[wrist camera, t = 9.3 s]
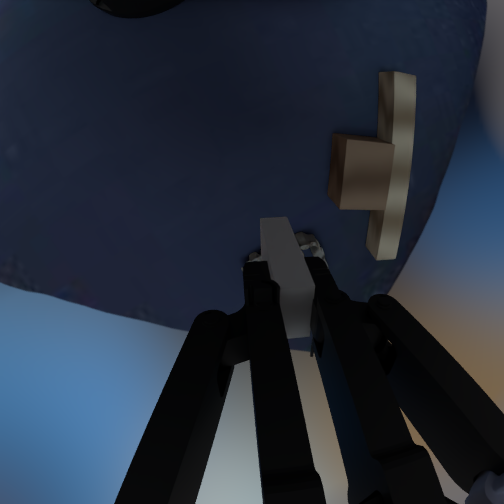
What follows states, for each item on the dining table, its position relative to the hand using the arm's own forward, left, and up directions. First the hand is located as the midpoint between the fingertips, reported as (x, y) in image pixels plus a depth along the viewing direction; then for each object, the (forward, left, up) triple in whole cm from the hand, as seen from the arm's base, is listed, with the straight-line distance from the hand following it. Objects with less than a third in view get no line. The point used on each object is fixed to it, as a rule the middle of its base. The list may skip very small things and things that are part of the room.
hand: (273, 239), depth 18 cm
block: (+1, +13, -20) cm, 24 cm away
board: (0, +17, -20) cm, 26 cm away
